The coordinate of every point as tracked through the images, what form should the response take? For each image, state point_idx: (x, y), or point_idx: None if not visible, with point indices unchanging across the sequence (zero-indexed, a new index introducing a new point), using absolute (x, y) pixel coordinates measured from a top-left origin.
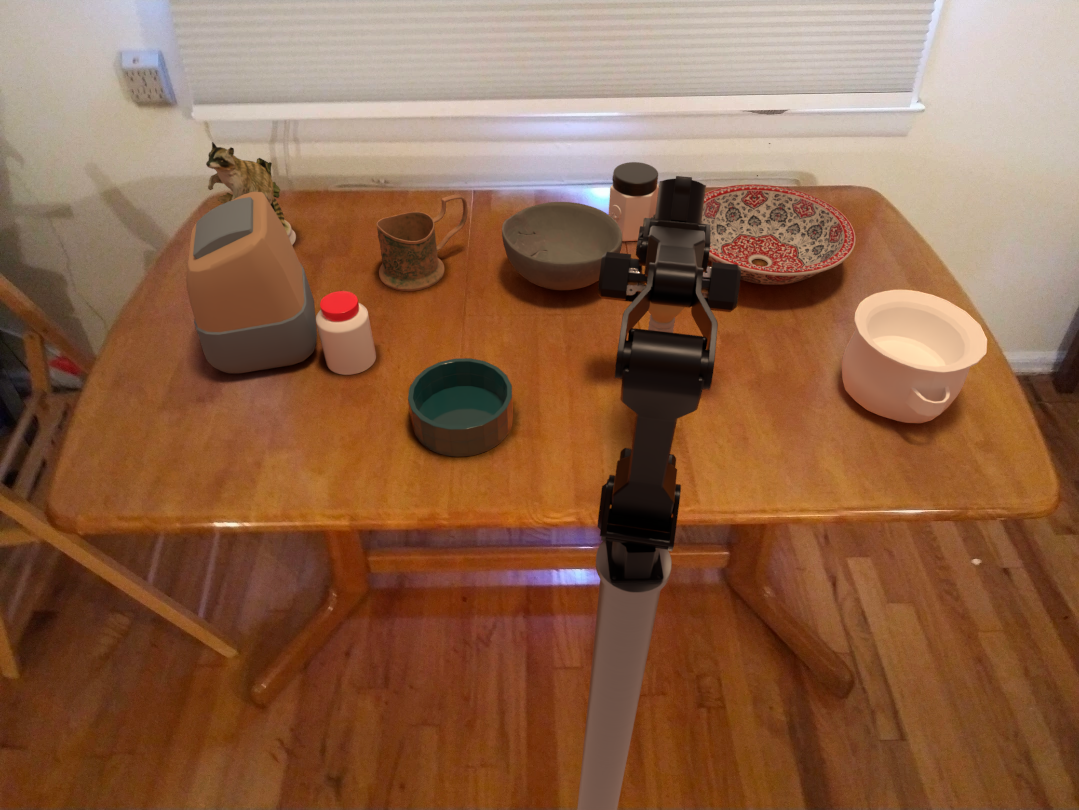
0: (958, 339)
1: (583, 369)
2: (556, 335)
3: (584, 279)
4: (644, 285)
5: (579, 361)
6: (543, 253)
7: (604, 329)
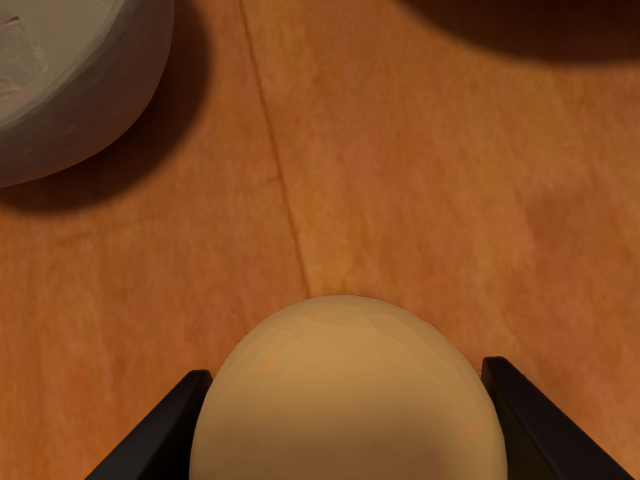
0: None
1: None
2: (85, 321)
3: (75, 152)
4: (182, 438)
5: None
6: (11, 31)
7: (204, 265)
